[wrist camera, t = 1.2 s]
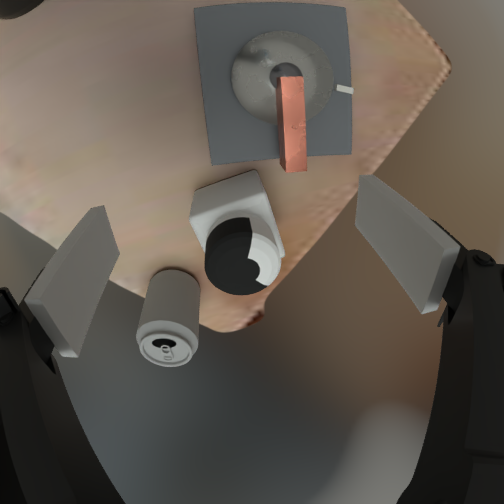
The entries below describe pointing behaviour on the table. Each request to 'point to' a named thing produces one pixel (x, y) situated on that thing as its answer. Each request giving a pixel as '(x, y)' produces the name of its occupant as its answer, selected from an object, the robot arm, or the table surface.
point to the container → (237, 234)
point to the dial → (284, 88)
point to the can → (170, 319)
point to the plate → (220, 86)
